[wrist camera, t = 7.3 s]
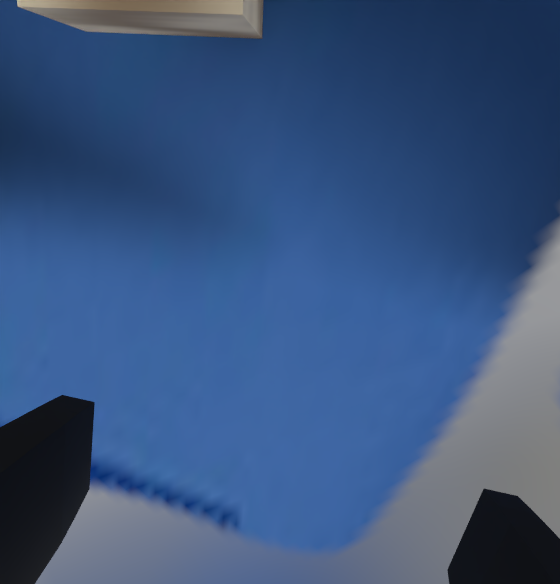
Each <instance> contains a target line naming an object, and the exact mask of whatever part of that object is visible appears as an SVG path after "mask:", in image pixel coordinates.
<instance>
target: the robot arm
mask: <svg viewBox="0 0 560 584" xmlns="http://www.w3.org/2000/svg"><path fill="white" fill-rule="evenodd" d="M93 418H94V402H91V401H87V400H82V399H78V398H73V397H69V396H64V395H61V396H59V397H57V398H55V399H53V400H51V401H49V402H47V403H45V404H43V405H41V406H40V407H38V408H36V409H34V410H32V411H30V412H28V413H26V414H24V415H23V416H21V417H19V418H17V419H15V420H13V421H11V422H9V423H8V424H6V425H4V426H2V427H0V584H35V583H36V581H37V579H38V578H39V576H40V575H41V573H42V572H43V570H44V569H45V567H46V566H47V564H48V563H49V561H50V560H51V558H52V557H53V555H54V553H55V552H56V550H57V549H58V547H59V546H60V544H61V543H62V541H63V539H64V537H65V535H66V533H67V531H68V529H69V528H70V526H71V524H72V522H73V520H74V518H75V516H76V514H77V512H78V510H79V508H80V506H81V504H82V502H83V500H84V498H85V496H86V494H87V492H88V490H89V485H90V468H91V452H92V435H93ZM448 577H449V584H560V539H559V538H558V537H557V536H556V534H555V533H554V532H553V531H552V530H551V529H550V528H549V527H548V526H547V525H546V524H545V523H544V522H543V521H542V520H541V519H540V518H539V517H538V516H537V515H536V514H535V513H534V512H533V511H532V510H531V509H530V508H529V507H528V506H527V505H526V504H525V503H524V502H523V501H522V500H521V499H520V498H519V497H518V496H514V495H510V494H506V493H501V492H496V491H492V490H487V489H484V490H483V492H482V494H481V496H480V498H479V501H478V503H477V505H476V508H475V510H474V512H473V514H472V517H471V518H470V521H469V523H468V525H467V527H466V530H465V532H464V534H463V536H462V539H461V541H460V543H459V545H458V548H457V550H456V552H455V554H454V556H453V559H452V561H451V563H450V566H449V568H448Z"/></svg>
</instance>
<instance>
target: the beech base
mask: <svg viewBox="0 0 560 584" xmlns="http://www.w3.org/2000/svg"><path fill="white" fill-rule="evenodd" d="M17 5H18V7H20V8H23V9H26V10H28V11H31V12H34V13H37V14H39V15H42V16H45V17H48V18H50V19H53V20H56V21H59V22H61V23H64V24H67V25H69V26H72V27H75V28H78V29H80V30H83V31H86V32H107V33H132V34H157V35H182V36H207V37H232V38H257V39H262V27H263V0H17Z"/></svg>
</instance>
